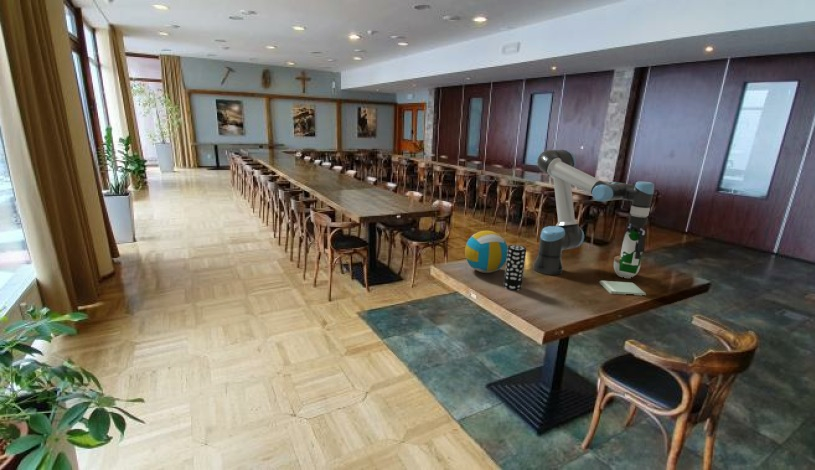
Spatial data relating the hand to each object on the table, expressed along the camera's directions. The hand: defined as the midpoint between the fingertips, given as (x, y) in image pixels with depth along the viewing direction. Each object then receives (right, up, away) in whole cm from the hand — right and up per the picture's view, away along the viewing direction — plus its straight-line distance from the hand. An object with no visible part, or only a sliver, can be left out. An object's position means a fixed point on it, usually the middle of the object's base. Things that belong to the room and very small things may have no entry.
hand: (629, 261), depth 191 cm
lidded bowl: (+9, -9, +22) cm, 26 cm away
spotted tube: (-56, -13, +1) cm, 57 cm away
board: (-2, -14, +4) cm, 14 cm away
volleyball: (-66, -7, +20) cm, 69 cm away
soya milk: (0, -4, +1) cm, 5 cm away
